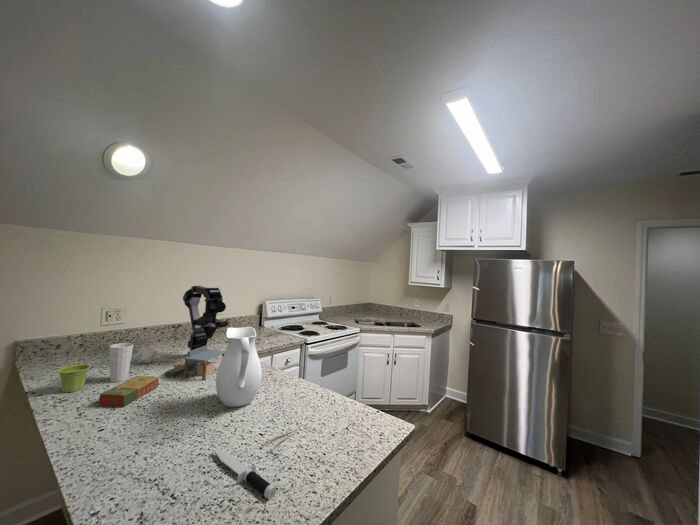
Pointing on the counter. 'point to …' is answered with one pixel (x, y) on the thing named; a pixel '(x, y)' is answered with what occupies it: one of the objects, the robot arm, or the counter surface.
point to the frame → (196, 362)
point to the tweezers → (276, 440)
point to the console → (180, 369)
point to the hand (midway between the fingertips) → (209, 338)
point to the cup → (120, 361)
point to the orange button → (177, 364)
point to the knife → (247, 474)
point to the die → (145, 355)
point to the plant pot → (73, 377)
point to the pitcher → (239, 368)
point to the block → (208, 368)
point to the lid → (203, 354)
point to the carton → (128, 391)
